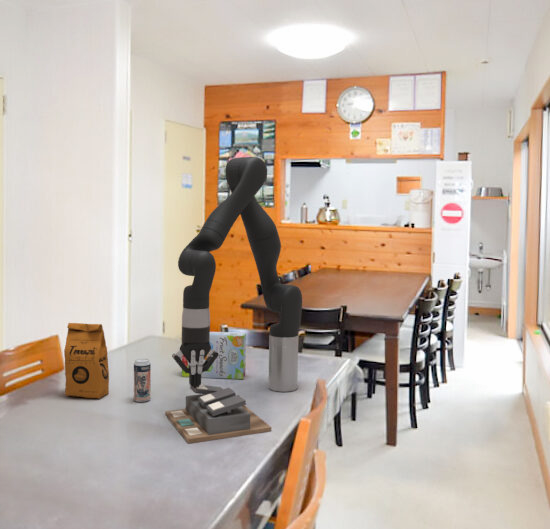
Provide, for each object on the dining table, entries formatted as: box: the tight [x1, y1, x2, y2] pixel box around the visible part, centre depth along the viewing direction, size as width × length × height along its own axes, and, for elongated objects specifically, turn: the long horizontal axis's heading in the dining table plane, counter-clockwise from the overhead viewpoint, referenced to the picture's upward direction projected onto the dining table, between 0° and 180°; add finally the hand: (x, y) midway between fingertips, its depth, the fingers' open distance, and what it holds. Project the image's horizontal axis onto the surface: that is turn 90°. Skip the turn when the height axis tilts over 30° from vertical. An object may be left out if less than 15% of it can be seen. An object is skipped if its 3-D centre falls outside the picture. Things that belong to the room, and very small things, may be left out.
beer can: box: [133, 358, 152, 403], centre depth 178 cm, size 5×5×12 cm
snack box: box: [181, 331, 247, 380], centre depth 205 cm, size 21×6×15 cm, turn 84°
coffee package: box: [63, 322, 110, 400], centre depth 181 cm, size 10×12×22 cm
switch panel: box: [164, 393, 272, 445], centre depth 160 cm, size 22×22×5 cm
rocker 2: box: [198, 387, 237, 408], centre depth 160 cm, size 5×9×2 cm, turn 115°
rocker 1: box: [189, 384, 224, 395], centre depth 166 cm, size 5×9×2 cm, turn 115°
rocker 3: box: [206, 394, 247, 416], centre depth 154 cm, size 5×9×2 cm, turn 115°
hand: (195, 387), depth 165 cm, fingers closed
